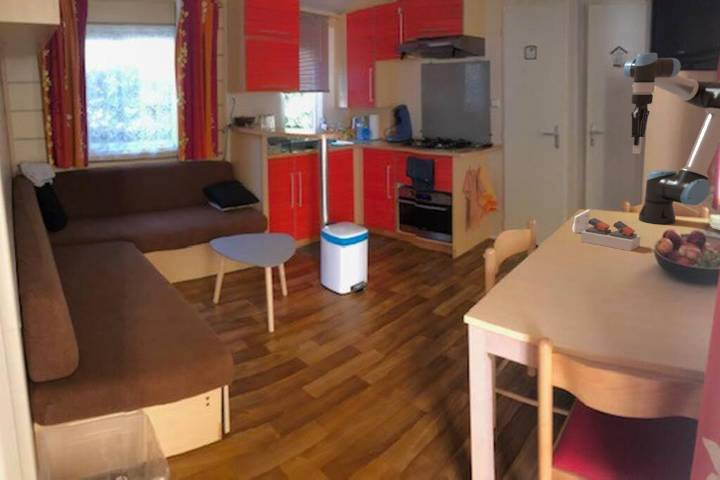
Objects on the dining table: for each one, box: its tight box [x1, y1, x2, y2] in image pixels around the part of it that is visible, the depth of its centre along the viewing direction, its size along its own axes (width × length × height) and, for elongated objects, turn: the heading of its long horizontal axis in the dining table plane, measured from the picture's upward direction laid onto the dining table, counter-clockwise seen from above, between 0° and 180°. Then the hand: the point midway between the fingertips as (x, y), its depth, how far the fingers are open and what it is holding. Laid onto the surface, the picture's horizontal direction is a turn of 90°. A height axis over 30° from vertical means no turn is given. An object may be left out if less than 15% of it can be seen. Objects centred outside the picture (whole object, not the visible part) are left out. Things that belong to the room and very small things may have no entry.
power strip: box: [580, 226, 641, 252], centre depth 242 cm, size 9×20×5 cm, turn 45°
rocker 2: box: [613, 220, 636, 236], centre depth 237 cm, size 5×7×2 cm
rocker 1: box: [588, 217, 611, 231], centre depth 244 cm, size 5×7×2 cm
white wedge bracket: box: [572, 208, 591, 234], centre depth 260 cm, size 4×10×9 cm, turn 84°
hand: (636, 153), depth 246 cm, fingers closed
